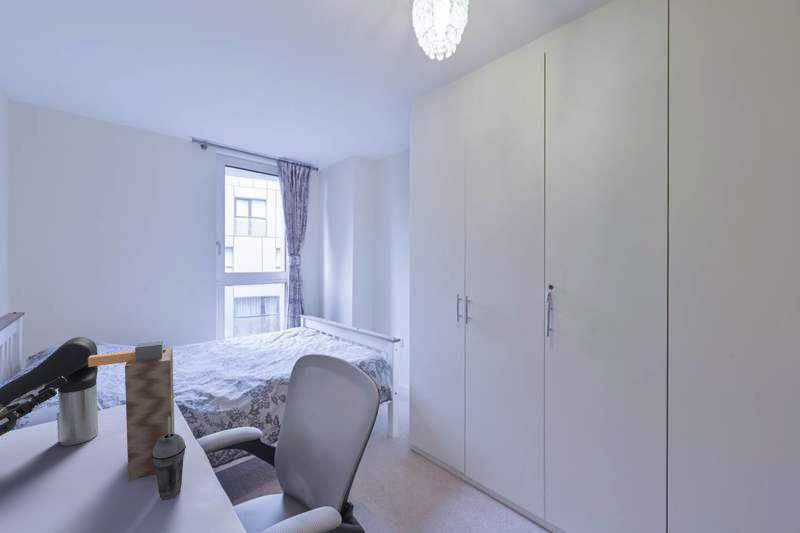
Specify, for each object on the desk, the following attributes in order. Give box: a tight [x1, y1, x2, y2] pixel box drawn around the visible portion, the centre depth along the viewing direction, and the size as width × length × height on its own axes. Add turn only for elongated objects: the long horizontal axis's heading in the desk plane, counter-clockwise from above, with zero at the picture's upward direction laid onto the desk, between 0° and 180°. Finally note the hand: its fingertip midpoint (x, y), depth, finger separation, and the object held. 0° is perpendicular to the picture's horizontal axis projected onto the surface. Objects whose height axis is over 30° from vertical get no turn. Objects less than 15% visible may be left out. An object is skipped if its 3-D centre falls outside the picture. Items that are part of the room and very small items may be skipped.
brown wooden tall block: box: [124, 344, 176, 483], centre depth 101 cm, size 10×16×33 cm, turn 32°
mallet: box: [88, 340, 164, 367], centre depth 95 cm, size 16×4×4 cm, turn 122°
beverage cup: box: [152, 416, 187, 501], centre depth 88 cm, size 7×7×20 cm
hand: (60, 384), depth 88 cm, fingers open, 8 cm apart
